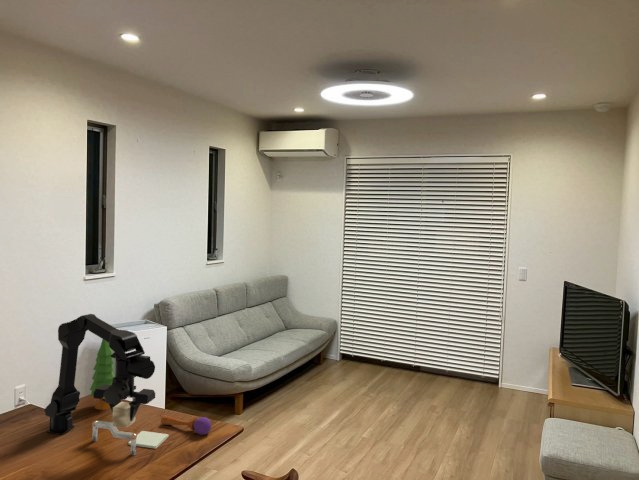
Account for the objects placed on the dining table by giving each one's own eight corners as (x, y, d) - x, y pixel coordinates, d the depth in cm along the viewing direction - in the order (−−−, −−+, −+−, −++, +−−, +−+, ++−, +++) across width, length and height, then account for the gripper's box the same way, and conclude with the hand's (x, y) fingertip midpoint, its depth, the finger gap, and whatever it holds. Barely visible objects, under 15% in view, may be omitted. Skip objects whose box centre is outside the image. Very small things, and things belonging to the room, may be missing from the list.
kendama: (169, 410, 191) (215, 416, 183) (168, 426, 190) (213, 433, 182) (159, 413, 185) (205, 419, 178) (157, 430, 184) (204, 437, 177)
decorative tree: (98, 413, 193) (99, 336, 191) (84, 407, 198) (85, 331, 196) (120, 405, 201) (122, 331, 199) (106, 399, 207) (107, 327, 204)
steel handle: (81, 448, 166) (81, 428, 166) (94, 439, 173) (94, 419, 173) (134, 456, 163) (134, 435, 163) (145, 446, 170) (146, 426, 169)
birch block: (112, 425, 162) (112, 407, 162) (121, 419, 167) (121, 401, 166) (126, 427, 161) (127, 409, 161) (135, 421, 166) (135, 403, 166)
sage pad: (128, 444, 170) (128, 442, 170) (142, 432, 179) (142, 430, 179) (155, 448, 169) (155, 446, 169) (168, 436, 178) (168, 434, 178)
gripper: (82, 377, 156) (82, 427, 158) (138, 384, 153) (137, 434, 154) (104, 366, 167) (103, 412, 169) (156, 372, 164) (155, 419, 165)
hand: (124, 419), depth 164 cm, fingers closed on birch block, 5 cm apart
